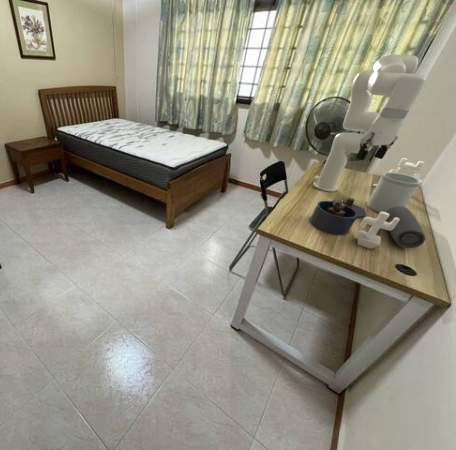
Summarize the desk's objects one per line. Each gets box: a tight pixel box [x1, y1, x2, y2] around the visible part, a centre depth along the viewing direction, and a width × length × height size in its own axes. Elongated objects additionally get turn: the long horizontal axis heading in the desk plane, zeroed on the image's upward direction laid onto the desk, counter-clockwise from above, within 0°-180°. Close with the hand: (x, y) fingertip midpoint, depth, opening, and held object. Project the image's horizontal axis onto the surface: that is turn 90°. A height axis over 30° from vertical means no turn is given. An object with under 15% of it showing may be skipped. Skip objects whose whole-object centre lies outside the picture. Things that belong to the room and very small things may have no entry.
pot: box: [309, 200, 358, 236], centre depth 108 cm, size 15×15×8 cm
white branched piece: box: [372, 157, 425, 187], centre depth 138 cm, size 19×14×20 cm
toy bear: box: [326, 200, 346, 217], centre depth 107 cm, size 5×5×12 cm
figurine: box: [357, 212, 400, 250], centre depth 95 cm, size 7×9×15 cm
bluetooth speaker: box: [385, 206, 426, 249], centre depth 102 cm, size 23×9×10 cm, turn 150°
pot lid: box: [332, 197, 367, 218], centre depth 121 cm, size 16×16×6 cm
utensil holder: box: [366, 171, 423, 213], centre depth 120 cm, size 15×15×18 cm
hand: (368, 158), depth 99 cm, fingers open, 9 cm apart
